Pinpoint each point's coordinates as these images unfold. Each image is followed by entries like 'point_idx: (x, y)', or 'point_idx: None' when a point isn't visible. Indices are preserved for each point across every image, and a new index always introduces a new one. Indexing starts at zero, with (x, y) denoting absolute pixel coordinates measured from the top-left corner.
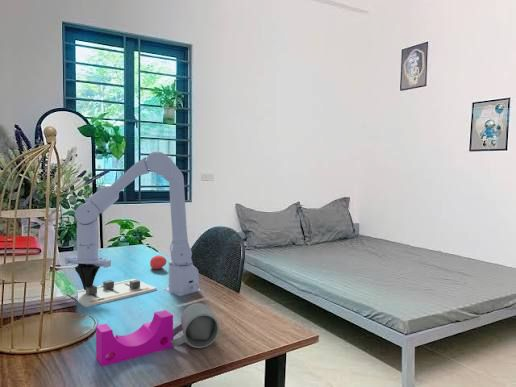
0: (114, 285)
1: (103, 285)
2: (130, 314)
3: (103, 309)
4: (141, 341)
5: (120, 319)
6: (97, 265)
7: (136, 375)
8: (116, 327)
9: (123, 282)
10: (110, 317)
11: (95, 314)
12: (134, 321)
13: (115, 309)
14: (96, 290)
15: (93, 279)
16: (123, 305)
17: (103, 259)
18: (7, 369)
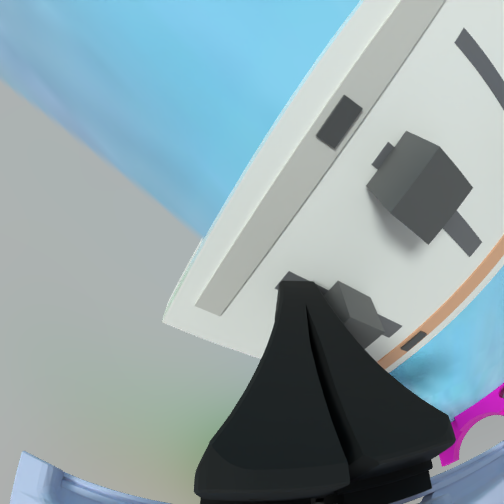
0: (411, 84)
1: (376, 196)
2: (490, 355)
3: (428, 366)
4: (484, 416)
5: (468, 378)
6: (437, 480)
7: None
8: (459, 397)
9: (437, 7)
10: (449, 383)
11: (412, 389)
12: (491, 371)
13: (461, 352)
14: (374, 314)
15: (343, 334)
16: (483, 323)
17: (500, 496)
18: None
